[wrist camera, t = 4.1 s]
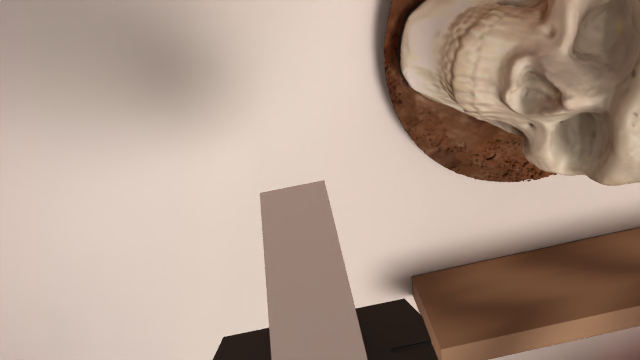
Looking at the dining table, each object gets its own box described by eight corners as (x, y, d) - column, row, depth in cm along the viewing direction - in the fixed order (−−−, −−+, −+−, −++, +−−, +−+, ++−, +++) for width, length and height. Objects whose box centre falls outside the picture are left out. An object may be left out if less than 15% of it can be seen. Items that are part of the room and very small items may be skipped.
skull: (359, 215, 21) (468, 159, 11) (354, -41, 23) (445, -286, 13) (652, 217, 23) (973, 170, 13) (627, -21, 25) (892, -226, 15)
